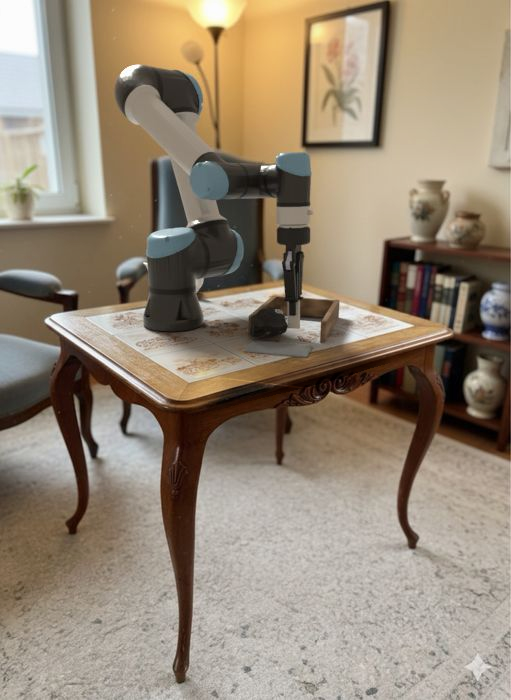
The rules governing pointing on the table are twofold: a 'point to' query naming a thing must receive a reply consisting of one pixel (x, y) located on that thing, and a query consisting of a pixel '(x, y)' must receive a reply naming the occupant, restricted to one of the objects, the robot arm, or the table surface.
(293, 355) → the mat
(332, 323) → the open wooden frame
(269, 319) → the rock
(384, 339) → the table surface
